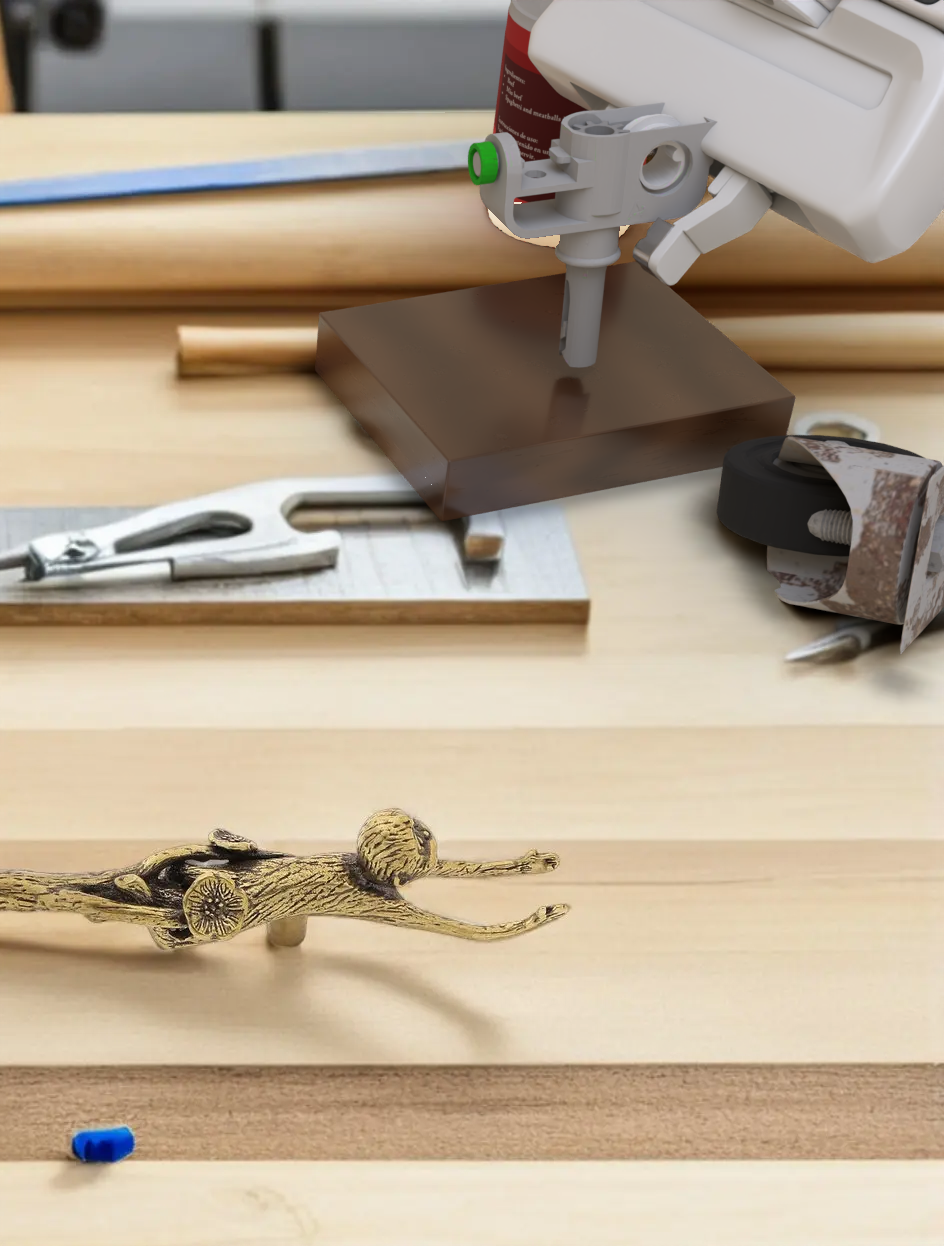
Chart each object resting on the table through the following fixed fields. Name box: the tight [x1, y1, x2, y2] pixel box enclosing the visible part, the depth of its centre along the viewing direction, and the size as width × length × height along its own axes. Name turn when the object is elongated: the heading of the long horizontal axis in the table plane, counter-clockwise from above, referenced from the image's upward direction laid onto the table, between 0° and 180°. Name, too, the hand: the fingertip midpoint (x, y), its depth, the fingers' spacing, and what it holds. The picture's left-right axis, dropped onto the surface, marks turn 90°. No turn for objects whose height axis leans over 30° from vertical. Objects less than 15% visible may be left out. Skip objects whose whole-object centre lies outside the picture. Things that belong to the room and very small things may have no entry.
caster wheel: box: [716, 434, 944, 655], centre depth 81 cm, size 7×11×10 cm
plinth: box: [314, 260, 797, 522], centre depth 90 cm, size 16×13×3 cm
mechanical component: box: [467, 103, 717, 367], centre depth 84 cm, size 3×10×10 cm, turn 104°
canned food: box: [492, 0, 648, 203], centre depth 102 cm, size 8×8×11 cm
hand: (612, 249), depth 84 cm, fingers closed on mechanical component, 3 cm apart
